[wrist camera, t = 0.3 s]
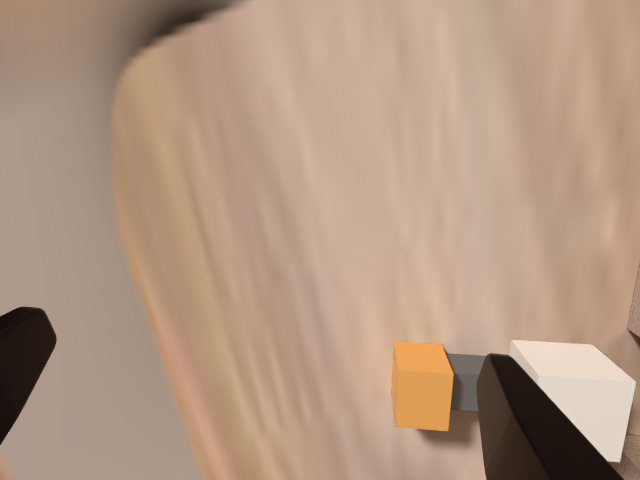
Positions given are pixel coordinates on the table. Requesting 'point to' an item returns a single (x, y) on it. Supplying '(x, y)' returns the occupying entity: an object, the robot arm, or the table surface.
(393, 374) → the plug
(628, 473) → the housing
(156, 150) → the table surface
